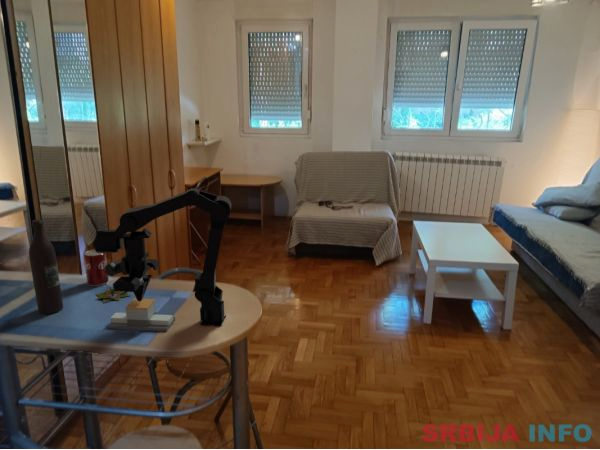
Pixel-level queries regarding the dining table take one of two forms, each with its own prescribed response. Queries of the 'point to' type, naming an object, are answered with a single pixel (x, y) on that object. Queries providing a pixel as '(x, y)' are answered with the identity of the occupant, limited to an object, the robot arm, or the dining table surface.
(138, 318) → the block
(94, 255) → the soda can
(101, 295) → the lily flower
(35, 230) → the wine bottle
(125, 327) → the rail
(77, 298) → the dining table surface
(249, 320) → the dining table surface
